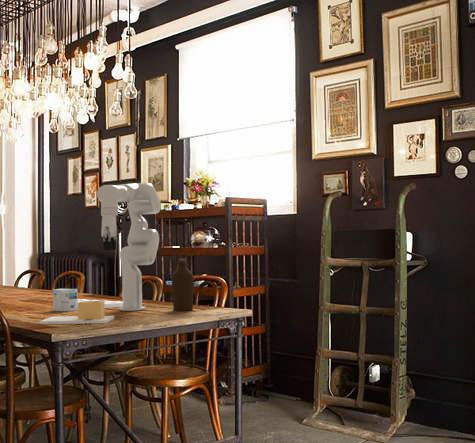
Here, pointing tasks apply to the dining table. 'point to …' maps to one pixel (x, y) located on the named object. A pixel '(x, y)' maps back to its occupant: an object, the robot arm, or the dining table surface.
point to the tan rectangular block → (91, 309)
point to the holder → (107, 303)
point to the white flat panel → (74, 320)
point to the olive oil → (182, 288)
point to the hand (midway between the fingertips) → (110, 249)
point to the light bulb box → (65, 299)
